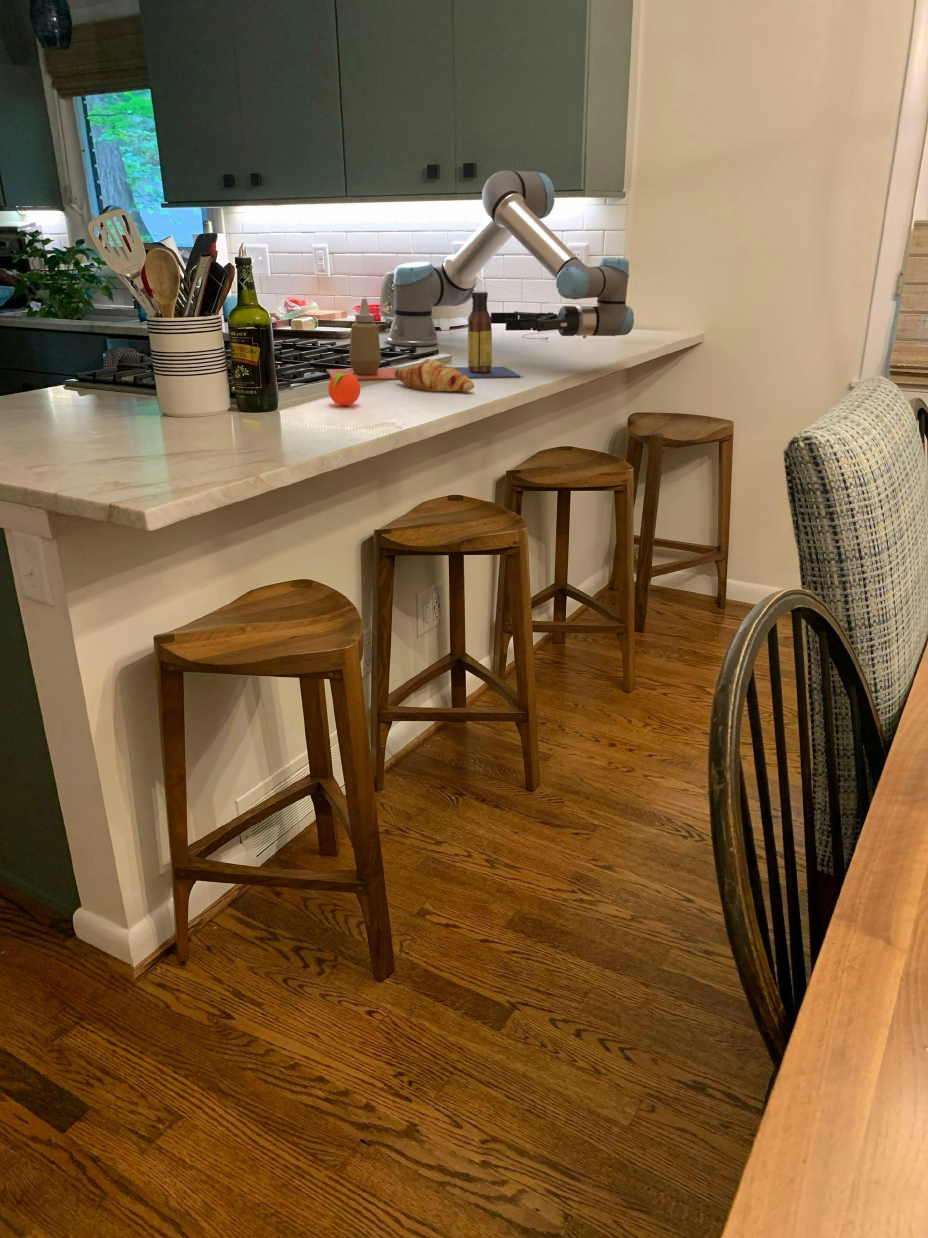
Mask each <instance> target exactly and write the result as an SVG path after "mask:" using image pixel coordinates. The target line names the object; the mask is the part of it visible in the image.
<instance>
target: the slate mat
mask: <svg viewBox="0 0 928 1238" xmlns="http://www.w3.org/2000/svg"><path fill="white" fill-rule="evenodd" d="M455 368H456V369H457V370H458V371H459V372H460V374H462V375H466V376H467V377H468V378H469V379H508V378H510V379H511V378H513V379H514V378H516V379H517V378H520V377H521V376H520V375H519V374H517V373H515V372H514V371H513V370H510V369H509V368H508V367H505V366H491V371H490V372H487V373H473V372H470V371H469V368H468V366H466V367H465V366H463V367H458V366H457V367H455Z"/></svg>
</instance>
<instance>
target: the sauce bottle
mask: <svg viewBox="0 0 928 1238" xmlns="http://www.w3.org/2000/svg"><path fill="white" fill-rule="evenodd" d="M488 297H489V294H488V291H485V290H475V291H474V292H472V298H471V299H472V308H471V312H470V314H469V316H468V318H467V367H468V368H469V371H470V372H473V373H487V372H490V371H491V367H492V365H493V330H492V329H493V328H492V324H491V314H490V313H489V311H488Z"/></svg>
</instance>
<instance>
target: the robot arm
mask: <svg viewBox="0 0 928 1238" xmlns="http://www.w3.org/2000/svg"><path fill="white" fill-rule="evenodd" d="M555 197H556V193H555V188H554V184H553V182H552V180H551V179H550V177H549V176H548V175H546V174H545V173H543V172H538V171H523V170H522V171H521V170H499V171H498V172H495V173H493V174H492V175H491V176H489V178H488V179H487V180H486V182H485V183H484V185H483V187H482V193H481V200H482V206H483V208H484V210H485V212H486V214H487V215H488V216H487V217H486V218H485V220H484V221H483V222H482V223H481V224H480V226H479V227H477V229H476V230H475V232H474V233H473V234H472V235H471V236H470V237H469V238H468V239H467V241H466V242H465V243H464V244H463V245H462V247H460V249H459V250H458V252H457V253H456V254H450V255H448V256H447V257H445V259H444V260H443V261H442V262H441V264H439V265H438V266H433V263H431V262H429V261H415V262H414V261H413V262H406V263H402V264H399V265H397V266H396V267H395V269H394V274H393V275H394V276H393V319H392V323H391V325H390V326H391V327H390V328H389V333H388V337H387V342H388V344H390V345H393V346H401V347H431V346H436V345H438V334H437V331H436V328H435V323H434V321H433V307H434V308H435V307H458V306H461V305H464V304H466V303H468V302H469V301H470V300H471V299H472V292H474V291H476V290H475V289H476V287H477V275H478V274H479V273H480V272H481V271H482V269H484V267H485V266H486V265H487V264H488V263H489V262H490V261H491V260H492V259H493V258H494V256H496V254H497V253H498V252H499V251H500V250H501V249H502V247H503V246H504V245H505V244H506V243H507V242H508V241H509V240H510V239H511V238H512V237H514V238H515V240H517V241H518V243H520V244H521V245H522V246H523V248H524V249H526V250H527V251H528V253H529V254H531V255H532V257H533V258H535V259H536V261H537V262H538V263H539V264H540V265H541V266H542V267H543V268H544V269H545V270H546V271H547V272H548V273H549V274H550V275H551V276H552V277H553V278H554V279H555V286H556V289H557V292H558V294H559V295H560V296H561V297H562V298H564V299H568V300H570V299H571V300H582V299H594V298H596V305H595V306H594V305H577V306H575V305H563V306H561V307H560V309H559V311H558V313H554V312H551V311H550V312H529V311H528V312H526V311H525V312H523V311H513V312H490V317H491V325H492V324H495V325H497V324H503V325H504V324H505V331H533V332H535V331H536V332H538V333H540V332H549V331H558V333H559V335H560V336H561V337H575V336H576V337H582V338H583V339H587V336H588V337H617V336H618V337H619V336H626V335H629V334H630V333H631V331H632V330H633V328H634V325H635V318H634V317H635V315H634V313H635V312H634V310H633V308H632V307H630V306H628V305H627V303H626V302H627V293H628V292H627V291H628V283H629V277H630V273H629V272H630V270H629V269H630V262H629V260H628V259H627V258H624V257H602V258H601V259H600V262H599V266H588V265H586V264H585V263H584V262H583V261H582V260H580V258H579V257H577V256H576V254H575V253H573V252H572V250H570V248H568V247H567V246H566V245H565V243H564V242H562V241H561V239H560V238H559V237H558V236H557V235H556V234H555V233H554V232H553V231H552V230H551V229H550V228H549V227H548V226H547V225H546V224H545V223H544V222H543V221H542V219H544V218H546V217H549V216H550V214H551V212H552V211H553V209H554V205H555Z"/></svg>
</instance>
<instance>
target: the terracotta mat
mask: <svg viewBox="0 0 928 1238" xmlns="http://www.w3.org/2000/svg"><path fill="white" fill-rule="evenodd" d="M395 371H398V370H397V369H396V368H394V367H393V368H389V367H388V368H387V367H386V368H385V367H384V368H378V371H377V373H376V374H372V375H360V374H356V373H354V371H353V368H327V369H326V371H325V372H327V374H328V375H329V377H330V378H331V379H332V378H333V377H334V376H335V375H336V374H339V373H344V372H345V373H349V374H351V375H353V376H354V377H355V378H356V379H357V380H358V381H394V380H397V381H399V380H398V379H397V378H396V377H395Z"/></svg>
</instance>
